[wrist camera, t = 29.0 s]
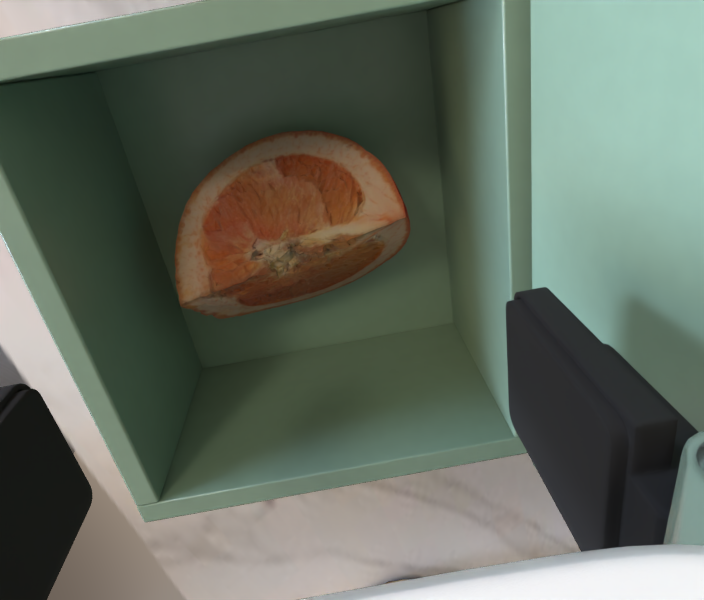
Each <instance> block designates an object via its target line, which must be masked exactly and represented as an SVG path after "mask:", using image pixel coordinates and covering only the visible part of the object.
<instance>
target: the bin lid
mask: <svg viewBox="0 0 704 600" xmlns="http://www.w3.org/2000/svg"><path fill="white" fill-rule="evenodd" d="M531 174H532V289H536V288H542V287H547V288H548V289H549V290H550V291H551V292H552V293H553V294H554V295H555V296H556V297H557V298H558V299H559V300H560V301H561V302H562V303H563V304H564V305H565V306H566V307H567V308H568V309H569V310H570V311H571V312H572V313H573V314H574V315H575V316H576V317H577V318H578V319H579V320H580V321H581V322H582V323H583V324H584V325H585V326H586V327H587V328H588V329H589V330H590V331H591V332H592V333H593V334H594V335H595V336H596V337H597V338H598V339H599V340H600V341H601V342H602V343H604V344H608V345H610V346H611V347H613V348H614V349H615V350H616V351H617V352H618V353H619V354H620V355H621V356H622V357H623V358H624V359H625V360H626V361H627V362H628V363H629V364H630V365H631V366H632V367H633V368H634V369H635V370H636V371H637V372H638V373H639V374H640V375H641V376H642V377H643V378H644V379H645V380H646V381H648V382H649V383H650V384H651V385H652V386H653V387H654V388H655V389H656V390H657V391H658V392H659V393H660V394H661V395H662V396H663V397H664V398H665V399H666V400H667V401H668V402H669V403H670V404H671V405H672V406H673V407H674V408H675V409H676V410H677V411H678V412H679V413H680V414H681V415H682V416H683V417H684V418H685V419H686V420H687V421H688V422H689V423H690V424H691V425H692V426H693V427H694V428H695V429H696V430H697V431H698V432H702V431H704V0H531ZM533 465H534V463H533ZM534 466H535V465H534ZM535 468H536V467H535Z"/></svg>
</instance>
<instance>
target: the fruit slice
mask: <svg viewBox="0 0 704 600" xmlns="http://www.w3.org/2000/svg"><path fill="white" fill-rule="evenodd" d="M410 230H411V229H410V219H409V216H408V212H407V208H406V206H405V203H404V201H403V199H402V196H401V194H400V191H399V189H398V187H397V185H396V183H395V181H394V180H393V178H392V176H391V175H390V173H389V172H388V170H387V169H386V168H385V166H384V165H383V164H382V163H381V161H380V160H378V159H377V158H376V157H375V156H374V155H373V154H371V153H370V152H368V151H366V150H365V149H364V148H363V147H362V146H361V145H359V144H358V143H356V142H354V141H352V140H350V139H349V138H346V137H343V136H339V135H335V134H332V133H328V132H324V131H312V130H305V131H288V132H281V133H278V134H275V135H271V136H268V137H265V138H262V139H259V140H257V141H255V142H253V143H251V144H248V145H246V146H244V147H243V148H241V149H240V150H238V151H237V152H235V153H234V154H232V155H231V156H229V157H228V158H226V159H225V160H224V161H223V162H221V163H220V164H219V165H218V166H217V167H215V168H214V169H213V170H211V171H210V172H209V173H208V174H207V176H206V177H205V178H204V179H203V180H202V181H201V182H200V184H199V185H198V186H197V187H196V189H195V190H194V191H193V192H192V194H191V196H190V198H189V200H188V201H187V203H186V205H185V209H184V212H183V214H182V217H181V220H180V223H179V228H178V235H177V239H176V249H175V267H176V273H175V280H176V288H177V291H178V295H179V302H180V306H181V307H183V308H186V309H192V310H194V311H196V312H201V314H203V315H206V316H208V315H213V316H214V317H216V318H218V319H225V318H230V317H235V316H243V315H246V314H251V313H255V312H259V311H263V310H267V309H271V308H276V307H281V306H284V305H288V304H292V303H296V302H299V301H303V300H306V299H310V298H313V297H316V296H319V295H322V294H324V293H327V292H330V291H332V290H335V289H337V288H340V287H342V286H345V285H347V284H349V283H351V282H354V281H356V280H357V279H359V278H361V277H363V276H365V275H366V274H368V273H370V272H371V271H373V270H374V269H376V268H377V267H379V266H380V265H382V264H383V263H385V262H386V261H388V260H390V259H391V258H392V257H394V256H395V255H396V254H397V253H398V252H399V251H400V250H401V249H402V247H403V246H404V245H405V243H406V242H407V239H408V237H409V234H410Z"/></svg>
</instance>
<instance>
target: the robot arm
mask: <svg viewBox="0 0 704 600" xmlns="http://www.w3.org/2000/svg"><path fill="white" fill-rule="evenodd" d="M506 336H507V366H508V396H509V413H510V418H511V421H512V424H513V426H514V429H515V430H516V432H517V434H518V436H519V438H520V440H521V441H522V443H523V445H524V447H525V449H526V451H527V452H528V454H529V456H530V458H531V460H532V462H533V463H534V465H535V467H536V469H537V471H538V473H539V474H540V476H541V478H542V480H543V482H544V484H545V485H546V487H547V489H548V491H549V493H550V495H551V496H552V498H553V500H554V502H555V504H556V506H557V508H558V509H559V511H560V513H561V515H562V517H563V519H564V520H565V522H566V524H567V526H568V528H569V530H570V531H571V533H572V535H573V537H574V539H575V541H576V542H577V544H578V546H579V548H580V550H581V552H573V553H567V554H560V555H554V556H548V557H542V558H535V559H529V560H523V561H517V562H511V563H504V564H498V565H492V566H486V567H479V568H473V569H467V570H461V571H455V572H450V573H444V574H438V575H433V576H427V577H422V578H416V579H410V580H405V581H399V582H393V583H388V584H382V585H377V586H371V587H365V588H360V589H354V590H348V591H343V592H337V593H332V594H326V595H320V596H315V597H309V598H303V599H298V600H704V431H702V432H698V431H697V430H696V429H695V428H694V427H693V426H692V425H691V424H690V423H689V422H688V421H687V420H686V419H685V418H684V417H683V416H682V415H681V414H680V413H679V412H678V411H677V410H676V409H675V408H674V407H673V406H672V405H671V404H670V403H669V402H668V401H667V400H666V399H665V398H664V397H663V396H662V395H661V394H660V393H659V392H658V391H657V390H656V389H655V388H654V387H653V386H652V385H651V384H650V383H649V382H648V381H646V380H645V379H644V378H643V377H642V376H641V375H640V374H639V373H638V372H637V371H636V370H635V369H634V368H633V367H632V366H631V365H630V364H629V363H628V362H627V361H626V360H625V359H624V358H623V357H622V356H621V355H620V354H619V353H618V352H617V351H616V350H615V349H614V348H613V347H611V346H610V345H608V344H604V343H602V342H601V341H600V340H599V339H598V338H597V337H596V336H595V335H594V334H593V333H592V332H591V331H590V330H589V329H588V328H587V327H586V326H585V325H584V324H583V323H582V322H581V321H580V320H579V319H578V318H577V317H576V316H575V315H574V314H573V313H572V312H571V311H570V310H569V309H568V308H567V307H566V306H565V305H564V304H563V303H562V302H561V301H560V300H559V299H558V298H557V297H556V296H555V295H554V294H553V293H552V292H551V291H550V290H549V289H548V288H547V287H542V288H536V289H531V290H525V291H520V292H516V293H515V296H514V300H511V301H507V303H506ZM91 502H92V489H91V486H90V484H89V482H88V480H87V479H86V477H85V475H84V473H83V471H82V469H81V468H80V466H79V464H78V462H77V460H76V459H75V457H74V455H73V453H72V451H71V449H70V447H69V446H68V444H67V442H66V440H65V438H64V436H63V435H62V433H61V431H60V429H59V427H58V425H57V424H56V422H55V420H54V418H53V416H52V414H51V413H50V411H49V409H48V407H47V405H46V403H45V402H44V400H43V398H42V396H41V395H40V393H39V392H38V391H37V390H35V389H30V387H28V386H27V385H25V384H16V385H11V386H5V387H0V600H47V598H48V596H49V594H50V591H51V589H52V587H53V585H54V583H55V581H56V579H57V576H58V574H59V572H60V570H61V568H62V566H63V563H64V561H65V559H66V557H67V555H68V553H69V551H70V549H71V546H72V544H73V542H74V540H75V538H76V536H77V534H78V531H79V529H80V527H81V525H82V523H83V521H84V519H85V516H86V514H87V512H88V510H89V508H90V506H91Z"/></svg>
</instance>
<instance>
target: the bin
mask: <svg viewBox="0 0 704 600" xmlns="http://www.w3.org/2000/svg"><path fill="white" fill-rule="evenodd" d="M305 130H312V131H324V132H328V133H332V134H335V135H339V136H343V137H346V138H349V139H350V140H352V141H354V142H356V143H358V144H359V145H361V146H362V147H363V148H364V149H365V150H366V151H368V152H370V153H371V154H373V155H374V156H375V157H376V158H377V159H378V160H380V161H381V163H382V164H383V165H384V166H385V168H386V169H387V170H388V172H389V173H390V175H391V176H392V178H393V180H394V181H395V183H396V185H397V187H398V189H399V191H400V194H401V196H402V199H403V201H404V203H405V206H406V208H407V212H408V216H409V219H410V229H411V230H410V234H409V237H408V239H407V242H406V243H405V245H404V246H403V247H402V249H401V250H400V251H399V252H398V253H397V254H396V255H395V256H394V257H392V258H391V259H390V260H388V261H386V262H385V263H383V264H382V265H380V266H379V267H377V268H376V269H374V270H373V271H371V272H370V273H368V274H366V275H365V276H363V277H361V278H359V279H357V280H356V281H354V282H351V283H349V284H347V285H345V286H342V287H340V288H337V289H335V290H332V291H330V292H327V293H324V294H322V295H319V296H316V297H313V298H310V299H306V300H303V301H299V302H296V303H292V304H288V305H284V306H281V307H276V308H271V309H267V310H263V311H259V312H255V313H251V314H246V315H243V316H235V317H230V318H225V319H218V318H216V317H214V316H213V315H208V316H206V315H203V314H201V312H196V311H194V310H192V309H186V308H183V307H181V306H180V302H179V295H178V291H177V288H176V280H175V273H176V267H175V249H176V239H177V235H178V228H179V223H180V220H181V217H182V214H183V212H184V209H185V205H186V203H187V201H188V200H189V198H190V196H191V194H192V192H193V191H194V190H195V189H196V187H197V186H198V185H199V184H200V182H201V181H202V180H203V179H204V178H205V177H206V176H207V174H208V173H209V172H210V171H211V170H213V169H214V168H215V167H217V166H218V165H219V164H220V163H221V162H223V161H224V160H225V159H226V158H228V157H229V156H231V155H232V154H234V153H235V152H237V151H238V150H240V149H241V148H243V147H244V146H246V145H248V144H251V143H253V142H255V141H257V140H259V139H262V138H265V137H268V136H271V135H275V134H278V133H281V132H288V131H305ZM0 235H1V237H2V239H3V241H4V243H5V245H6V247H7V249H8V251H9V253H10V255H11V257H12V259H13V261H14V263H15V265H16V267H17V269H18V271H19V273H20V275H21V277H22V279H23V281H24V283H25V285H26V287H27V289H28V291H29V293H30V294H31V296H32V298H33V300H34V302H35V304H36V306H37V308H38V310H39V312H40V314H41V316H42V318H43V320H44V322H45V324H46V326H47V328H48V330H49V332H50V334H51V336H52V338H53V340H54V342H55V344H56V346H57V348H58V350H59V352H60V354H61V356H62V358H63V360H64V362H65V364H66V366H67V368H68V370H69V372H70V374H71V376H72V378H73V380H74V382H75V384H76V386H77V388H78V390H79V392H80V394H81V396H82V398H83V400H84V402H85V404H86V406H87V408H88V410H89V412H90V414H91V416H92V418H93V420H94V422H95V424H96V426H97V428H98V430H99V432H100V434H101V436H102V438H103V440H104V442H105V444H106V446H107V448H108V450H109V452H110V454H111V456H112V458H113V460H114V462H115V464H116V466H117V468H118V470H119V472H120V474H121V476H122V478H123V480H124V482H125V484H126V486H127V487H128V489H129V491H130V493H131V495H132V497H133V499H134V501H135V503H136V505H137V508H138V510H139V512H140V514H141V516H142V518H143V520H144V522H151V521H156V520H162V519H167V518H173V517H178V516H184V515H189V514H195V513H200V512H206V511H211V510H217V509H222V508H228V507H233V506H239V505H244V504H250V503H255V502H261V501H266V500H272V499H277V498H283V497H288V496H294V495H299V494H305V493H310V492H316V491H321V490H327V489H332V488H338V487H343V486H349V485H354V484H360V483H365V482H371V481H376V480H382V479H387V478H393V477H398V476H403V475H409V474H414V473H420V472H425V471H431V470H436V469H442V468H447V467H453V466H458V465H464V464H469V463H475V462H480V461H486V460H491V459H497V458H502V457H508V456H513V455H519V454H524V453H528V452H527V451H526V449H525V447H524V445H523V443H522V441H521V440H520V438H519V436H518V434H517V432H516V430H515V429H514V426H513V424H512V421H511V418H510V413H509V396H508V366H507V336H506V303H507V301H511V300H514V296H515V293H516V292H520V291H525V290H531V289H532V174H531V0H203V1H198V2H192V3H187V4H182V5H176V6H171V7H165V8H160V9H155V10H149V11H144V12H138V13H133V14H128V15H122V16H117V17H112V18H106V19H101V20H95V21H90V22H85V23H79V24H74V25H68V26H63V27H58V28H52V29H47V30H41V31H36V32H31V33H25V34H20V35H15V36H9V37H4V38H0Z"/></svg>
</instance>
